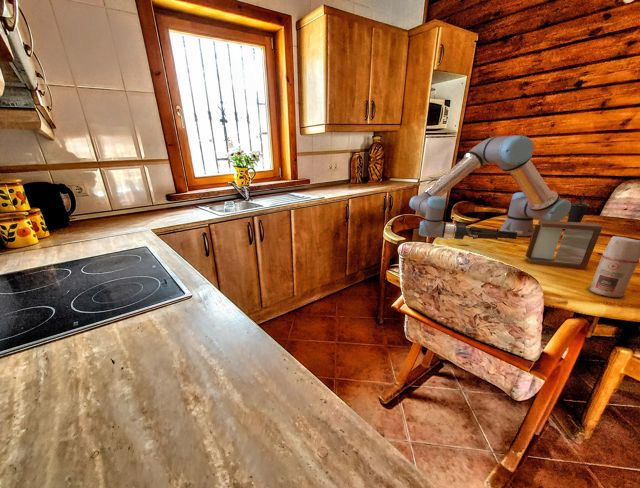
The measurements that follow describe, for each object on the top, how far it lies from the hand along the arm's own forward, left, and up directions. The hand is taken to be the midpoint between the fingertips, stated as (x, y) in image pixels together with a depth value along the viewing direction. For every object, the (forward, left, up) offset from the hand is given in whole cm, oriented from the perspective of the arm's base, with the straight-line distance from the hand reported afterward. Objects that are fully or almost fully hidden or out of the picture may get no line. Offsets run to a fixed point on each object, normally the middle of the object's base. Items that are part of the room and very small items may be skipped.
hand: (516, 235), depth 122 cm
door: (0, +10, -9) cm, 14 cm away
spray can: (+25, +23, -11) cm, 35 cm away
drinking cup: (-65, +41, -11) cm, 77 cm away
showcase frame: (+1, +15, -11) cm, 18 cm away
